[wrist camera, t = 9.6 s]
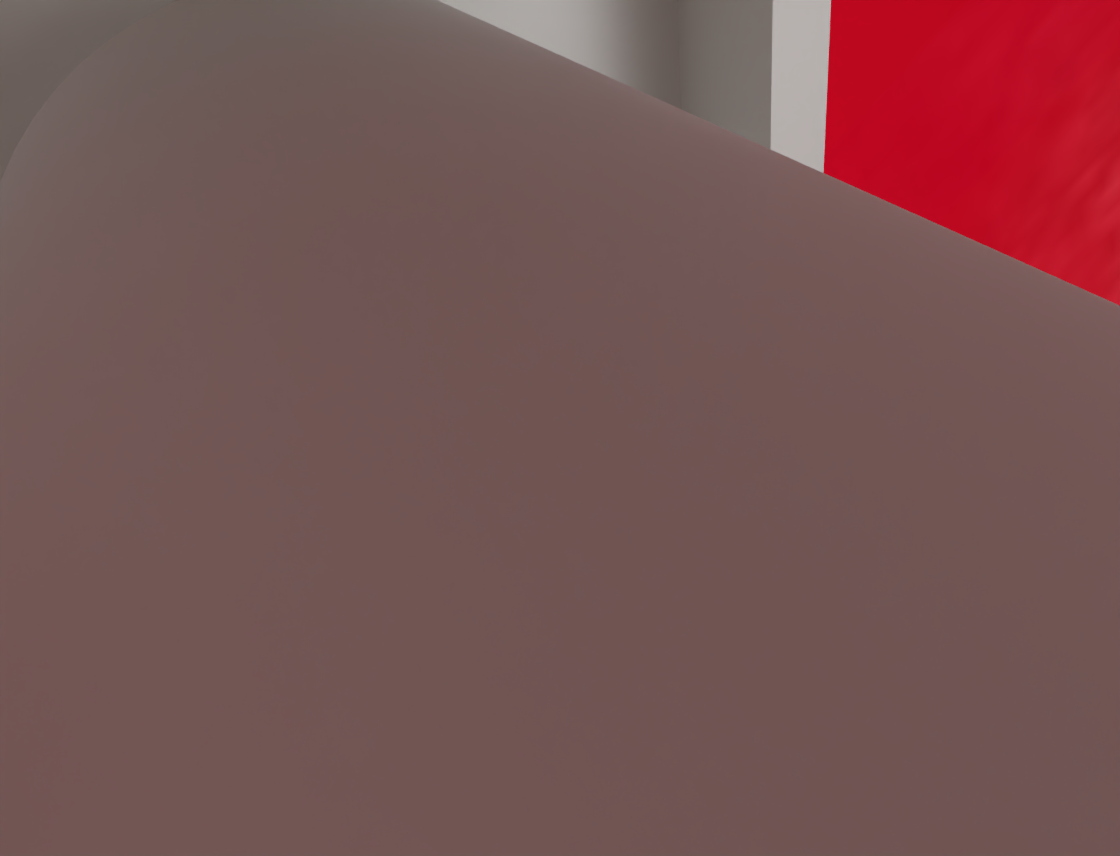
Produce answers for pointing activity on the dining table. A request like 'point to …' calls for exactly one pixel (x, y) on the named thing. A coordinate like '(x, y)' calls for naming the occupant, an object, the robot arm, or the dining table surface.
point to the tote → (548, 21)
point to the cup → (525, 473)
